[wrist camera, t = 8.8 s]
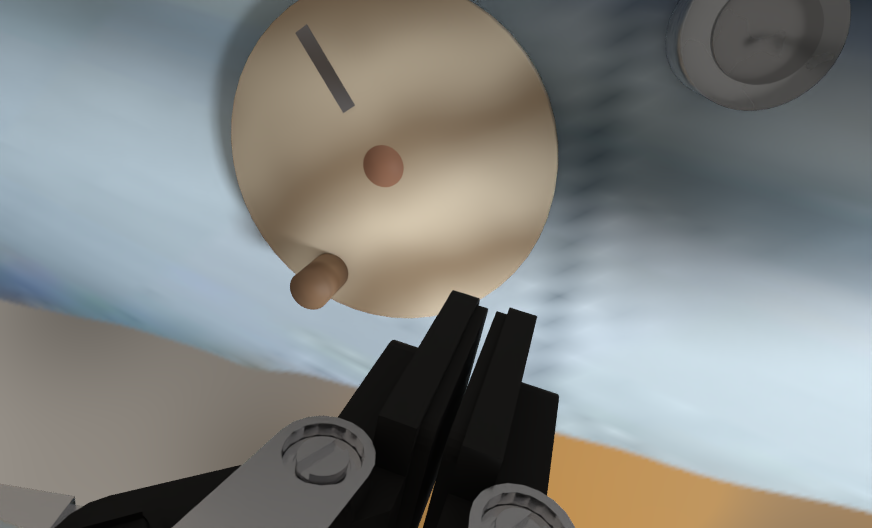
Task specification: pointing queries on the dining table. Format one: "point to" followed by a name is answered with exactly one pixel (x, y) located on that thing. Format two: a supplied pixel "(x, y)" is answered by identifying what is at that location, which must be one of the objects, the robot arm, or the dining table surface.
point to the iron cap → (755, 48)
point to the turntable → (394, 151)
